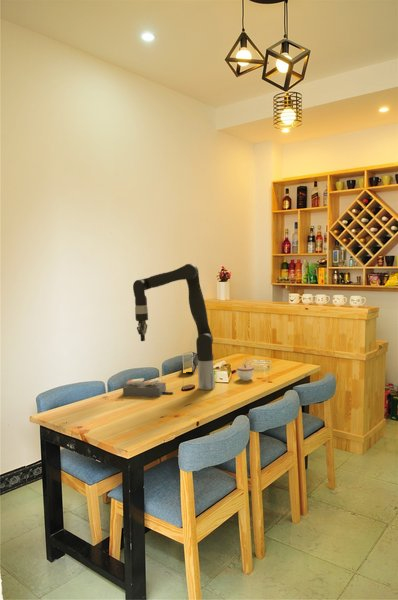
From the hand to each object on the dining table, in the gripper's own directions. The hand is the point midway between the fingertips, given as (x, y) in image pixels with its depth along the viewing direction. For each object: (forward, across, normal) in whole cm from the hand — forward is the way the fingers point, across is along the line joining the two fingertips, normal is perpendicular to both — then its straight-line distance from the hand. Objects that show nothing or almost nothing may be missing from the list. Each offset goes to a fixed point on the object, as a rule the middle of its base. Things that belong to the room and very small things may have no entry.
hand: (142, 340), depth 275 cm
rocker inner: (+23, -12, -10) cm, 27 cm away
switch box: (+29, -12, -7) cm, 32 cm away
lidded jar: (+29, +24, -59) cm, 70 cm away
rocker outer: (+23, -12, +2) cm, 26 cm away
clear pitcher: (+29, +47, -18) cm, 58 cm away
